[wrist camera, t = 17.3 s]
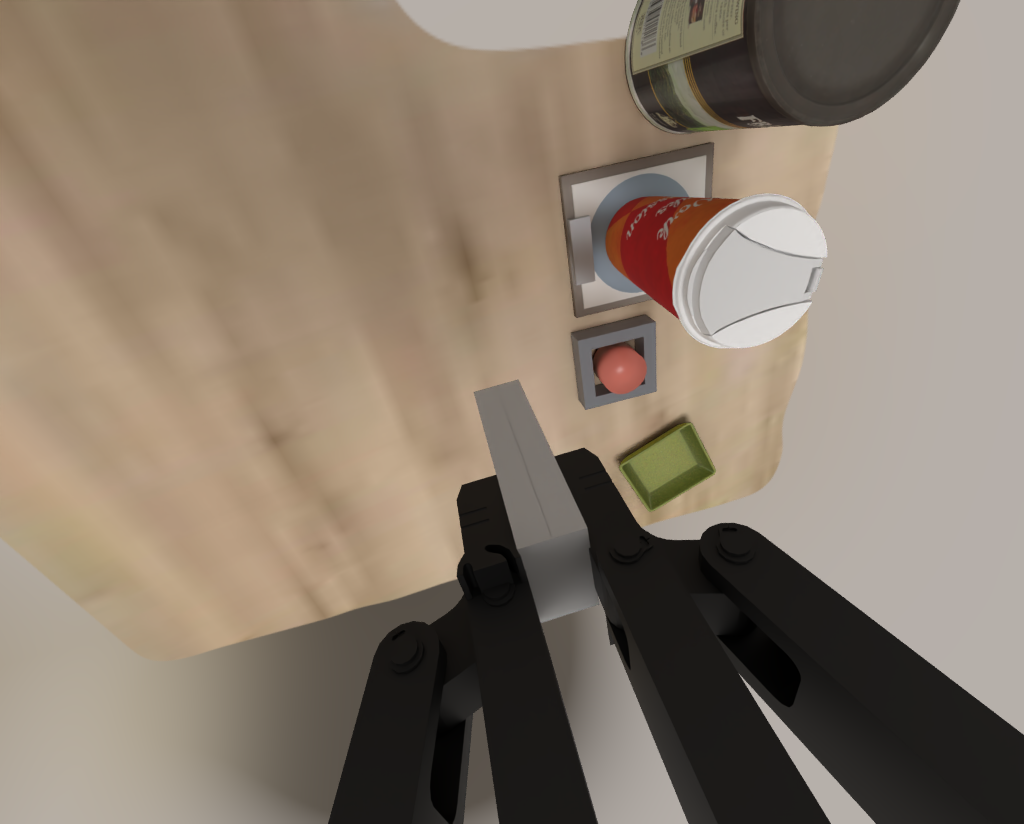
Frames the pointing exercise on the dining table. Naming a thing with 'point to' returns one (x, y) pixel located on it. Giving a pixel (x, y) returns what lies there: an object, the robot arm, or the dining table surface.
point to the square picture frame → (598, 200)
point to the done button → (619, 367)
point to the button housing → (608, 335)
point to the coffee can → (775, 59)
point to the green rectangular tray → (667, 466)
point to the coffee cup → (721, 262)
